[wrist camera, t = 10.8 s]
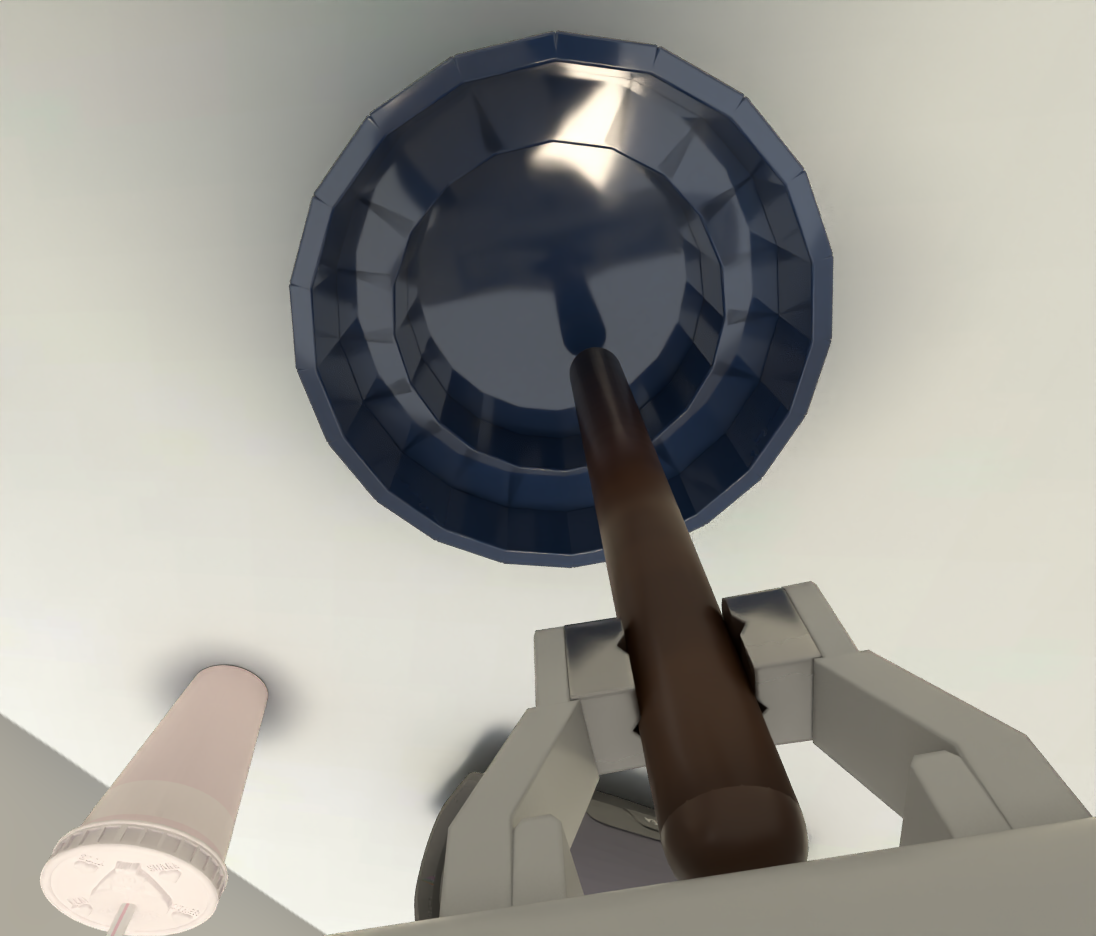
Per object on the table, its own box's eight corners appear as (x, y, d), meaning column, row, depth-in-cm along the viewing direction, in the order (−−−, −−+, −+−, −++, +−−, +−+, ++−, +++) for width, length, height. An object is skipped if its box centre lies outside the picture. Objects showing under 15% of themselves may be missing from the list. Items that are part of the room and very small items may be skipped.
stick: (563, 345, 22) (668, 877, 7) (613, 335, 22) (835, 851, 7) (572, 392, 23) (683, 957, 8) (621, 382, 23) (832, 935, 8)
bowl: (274, 116, 20) (189, 118, 15) (752, 2, 19) (839, -39, 14) (416, 509, 28) (393, 602, 22) (768, 440, 27) (829, 520, 21)
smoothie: (165, 724, 33) (-37, 1077, 21) (161, 635, 30) (-77, 986, 18) (291, 740, 34) (167, 1086, 22) (299, 655, 32) (161, 1001, 19)
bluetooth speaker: (421, 809, 38) (393, 1018, 29) (496, 713, 34) (489, 920, 25) (723, 900, 44) (773, 1095, 35) (814, 828, 40) (895, 1025, 32)
